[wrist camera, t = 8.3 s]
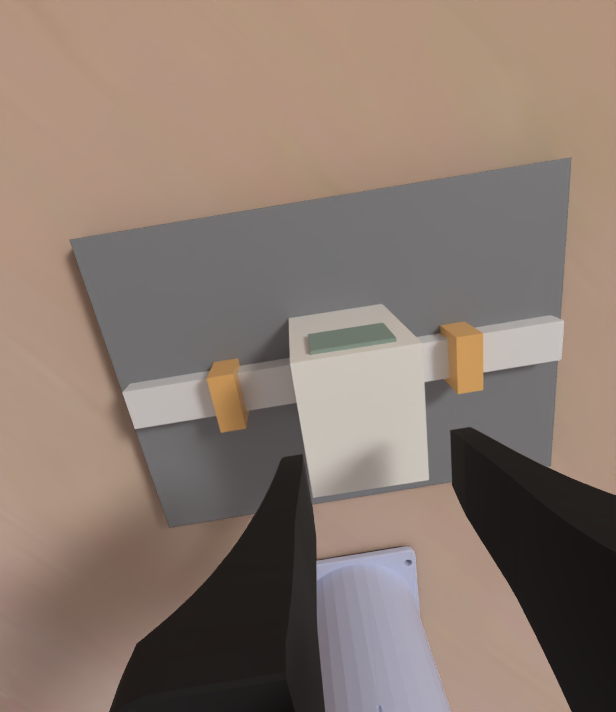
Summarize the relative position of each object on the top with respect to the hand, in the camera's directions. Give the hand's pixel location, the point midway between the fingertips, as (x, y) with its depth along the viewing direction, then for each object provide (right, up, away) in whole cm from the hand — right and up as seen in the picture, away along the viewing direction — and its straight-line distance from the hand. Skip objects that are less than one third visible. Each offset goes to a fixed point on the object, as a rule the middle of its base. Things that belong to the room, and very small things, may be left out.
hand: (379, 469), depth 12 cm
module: (0, +3, +8) cm, 8 cm away
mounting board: (-1, +3, +9) cm, 9 cm away
